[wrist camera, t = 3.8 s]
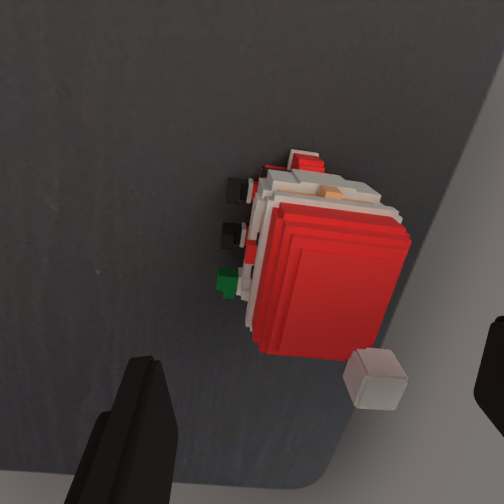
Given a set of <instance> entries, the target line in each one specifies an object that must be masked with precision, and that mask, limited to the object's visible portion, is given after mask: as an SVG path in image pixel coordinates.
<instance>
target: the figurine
mask: <svg viewBox="0 0 504 504" xmlns="http://www.w3.org/2000/svg"><path fill="white" fill-rule="evenodd" d="M318 157H319V154H318V153H314V152H307V151H301V150H294V149H290V153H289V158H288V164H287V166H288V167H287V168H286V167H279V166H272V165H265V167H263V168H260V173H259V180H258V182H256V181H253V179H252V178H248V180H242V179H234V178H228V186H227V195H226V203H233V204H239V200H246V203H251V201H253V205H252V211H251V218H250V224H249V226H247V225H246V223H243V222H242V225H239V224H231V223H223V226H222V235H221V247H220V249H226V250H233V244H239V245H240V247H243V248H244V245H246V250H245V256H244V264H243V268H241V267H239V268H238V270H234V269H225V268H218V274H217V282H216V290H219V291H224V292H223V298H229V299H233V298H234V292H236V295H240V296H241V300H245V301H248V305H247V311H246V317H245V325H246V327H250V331H252V333H253V342H258V347H259V349H260V352H264V353H267V354H271V355H283V356H295V357H307V358H319V359H331V360H343V361H348V362H347V365H346V368H345V371H344V374H343V379H344V381H345V384H346V386H347V389H348V392H349V394H350V397H351V399H352V402H353V405H355V407H356V408H362V409H377V410H393V411H395V409H396V408H397V406H398V403H399V401H400V399H401V397H402V394H403V392H404V390H405V388H406V386H407V383H408V381H409V379H408V377H407V375H406V374H405V372H404V371H403V369H402V367H401V365H400V364H399V362H398V361H397V359H396V357H395V356H394V354H393V352H392V351H391V350H388V349H377V348H372V346H373V344H374V341H375V338H376V336H377V333H378V330H379V328H380V325H381V322H382V320H383V317H384V314H385V312H386V309H387V306H388V304H389V301H390V298H391V296H392V293H393V290H394V288H395V285H396V282H397V280H398V277H399V274H400V271H401V269H402V266H403V263H404V261H405V258H406V255H407V253H408V250H409V247H410V245H411V242H412V241H411V240H410V239H409V238H410V235H409V234H408V233H407V232H406V228H405V227H404V226H402V225H401V222H402V219H403V218H402V217H401V216H399V215H398V213H399V211H397V210H396V209H395V208H393V207H389V206H384V205H383V204H382V203H380V202H379V201H380V198H381V195H380V194H379V193H377V192H376V191H375V190H373V189H372V188H371V187H369V186H368V185H366V184H365V183H362V182H355V181H349V180H347V179H345V178H342V177H341V176H340V175H335V174H328V173H324V170H325V168H324V167H323V166H324V162H323V161H322V160H321V159H320V158H318Z"/></svg>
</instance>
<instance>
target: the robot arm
mask: <svg viewBox="0 0 504 504" xmlns="http://www.w3.org/2000/svg"><path fill="white" fill-rule="evenodd" d="M474 398H475V400H476V402H477V404H478V405H479V407H480V408H481V409H482V410H483V411H484V413H485V414H486V415H487V417H488V418H489V419H490V420H491V422H492V423H493V424H494V425H495V427H496V428H497V429H498V430H499V432H500V433H501V434H502V436H503V437H504V316H499V317H497V318H496V319H495V322H493V323H492V324H491V325H490V329H489V332H488V336H487V340H486V344H485V348H484V352H483V356H482V360H481V364H480V368H479V372H478V376H477V379H476V383H475V387H474ZM177 443H178V427H177V422H176V418H175V415H174V411H173V407H172V403H171V399H170V395H169V391H168V388H167V384H166V380H165V376H164V372H163V368H162V365H161V362H160V360H156V361H154V358H153V357H152V356H144V357H135V358H131V359H130V360H129V362H128V365H127V367H126V370H125V373H124V376H123V379H122V381H121V384H120V387H119V390H118V393H117V395H116V398H115V401H114V404H113V407H112V409H111V411H107V412H102V413H101V414H100V415H99V416H98V418H97V420H96V423H95V425H94V428H93V430H92V433H91V435H90V438H89V441H88V443H87V446H86V448H85V451H84V453H83V456H82V459H81V461H80V464H79V466H78V469H77V471H76V474H75V476H74V479H73V482H72V484H71V487H70V489H69V492H68V494H67V497H66V500H65V502H64V504H169V501H170V493H171V486H172V479H173V472H174V464H175V457H176V450H177Z"/></svg>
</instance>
